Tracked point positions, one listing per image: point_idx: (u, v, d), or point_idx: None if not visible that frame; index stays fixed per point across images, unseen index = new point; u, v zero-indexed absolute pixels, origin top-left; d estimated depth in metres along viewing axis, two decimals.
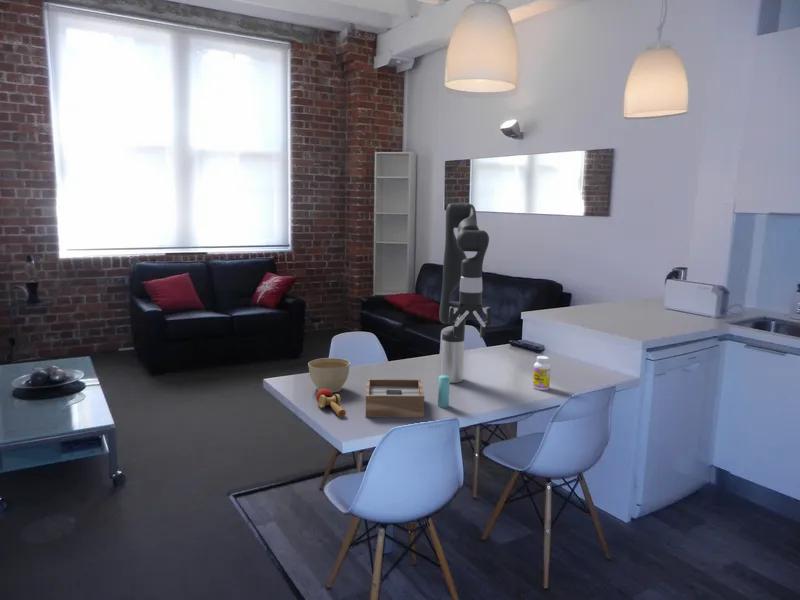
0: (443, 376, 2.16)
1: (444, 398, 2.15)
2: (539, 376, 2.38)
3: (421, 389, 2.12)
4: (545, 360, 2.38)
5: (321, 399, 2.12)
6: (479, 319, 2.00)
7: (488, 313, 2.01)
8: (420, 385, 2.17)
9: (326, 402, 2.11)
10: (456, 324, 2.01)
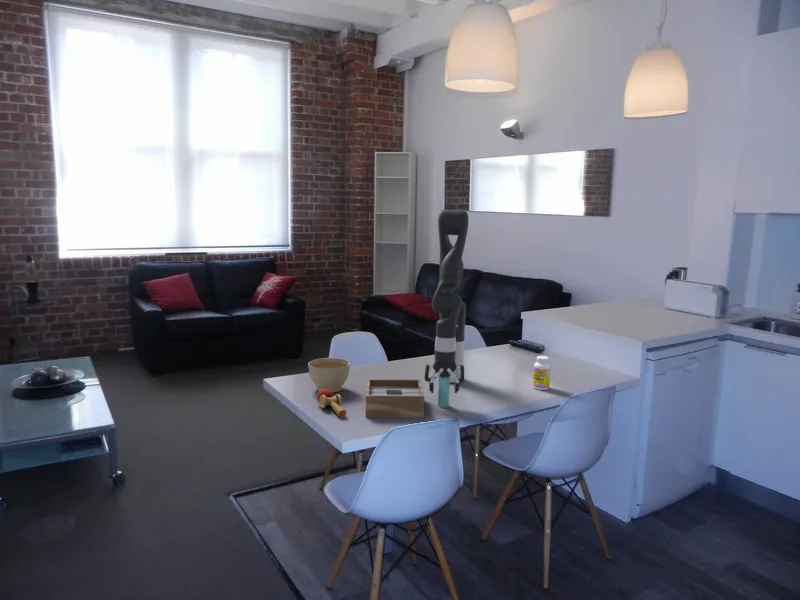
0: None
1: (444, 398, 2.15)
2: (539, 376, 2.38)
3: (421, 389, 2.12)
4: (545, 360, 2.38)
5: (322, 399, 2.12)
6: (453, 376, 2.14)
7: (461, 370, 2.15)
8: (420, 385, 2.17)
9: (327, 402, 2.10)
10: (431, 380, 2.15)
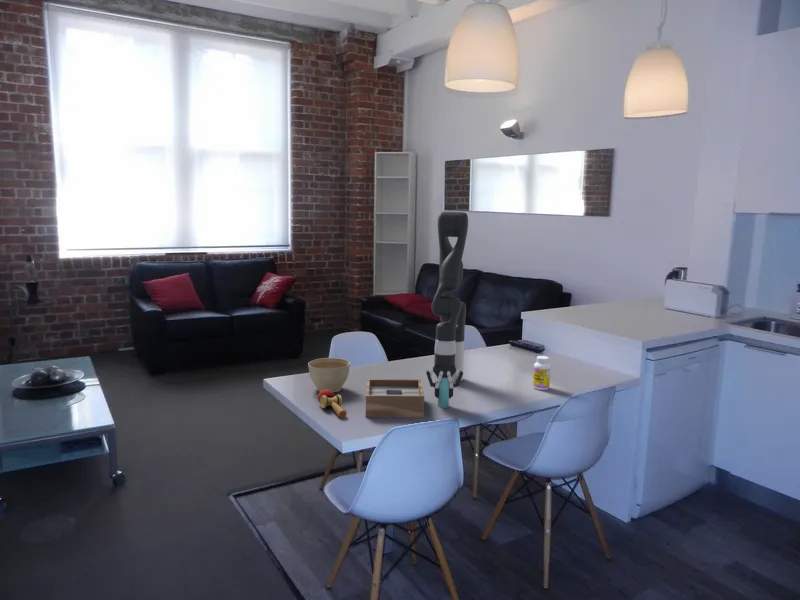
0: None
1: (444, 398, 2.15)
2: (539, 376, 2.38)
3: (421, 389, 2.12)
4: (545, 360, 2.38)
5: (322, 399, 2.12)
6: (450, 380, 2.15)
7: (459, 376, 2.15)
8: (420, 385, 2.17)
9: (327, 403, 2.10)
10: (437, 386, 2.15)
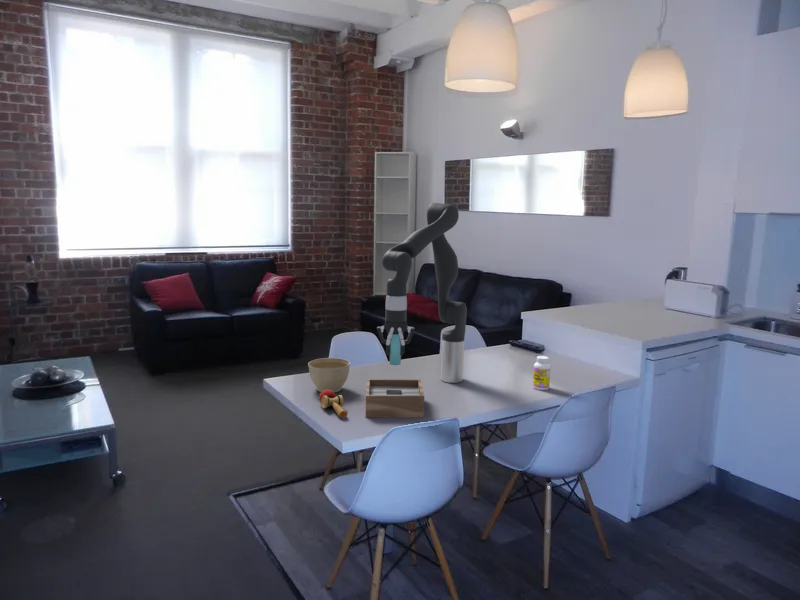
0: None
1: (395, 355, 2.12)
2: (539, 376, 2.38)
3: (421, 389, 2.12)
4: (545, 360, 2.38)
5: (324, 400, 2.12)
6: (401, 337, 2.12)
7: (411, 332, 2.12)
8: (420, 385, 2.17)
9: (328, 403, 2.10)
10: (388, 343, 2.12)
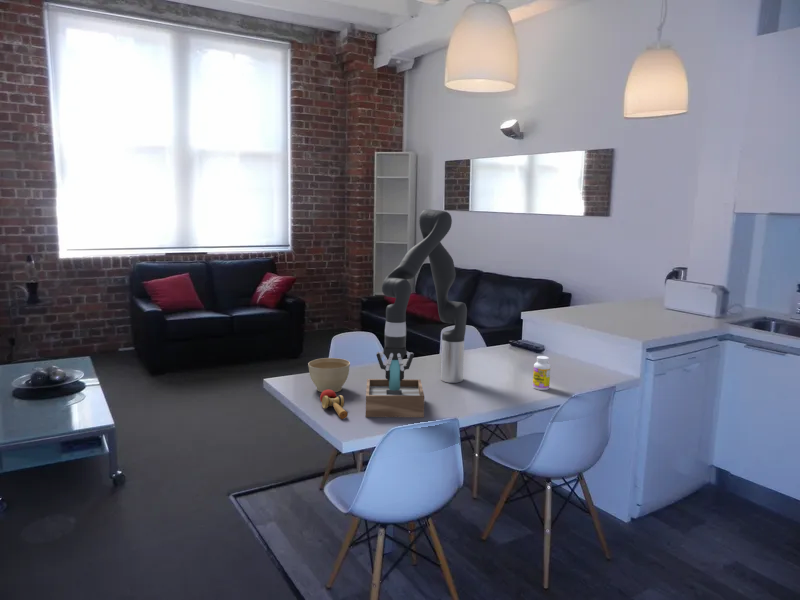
0: None
1: (394, 381, 2.14)
2: (539, 376, 2.38)
3: (421, 389, 2.12)
4: (545, 360, 2.38)
5: (324, 400, 2.11)
6: (400, 362, 2.13)
7: (410, 358, 2.13)
8: (420, 385, 2.17)
9: (329, 403, 2.09)
10: (387, 368, 2.14)
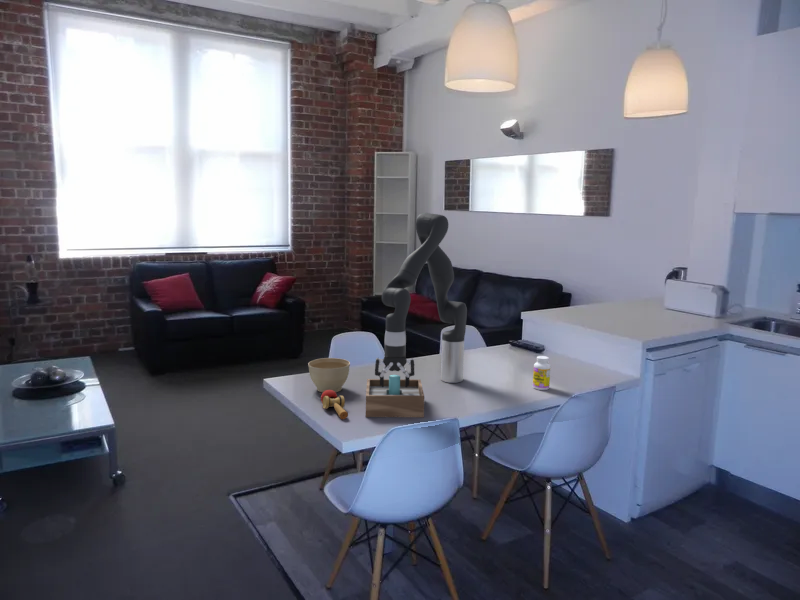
0: (393, 376, 2.16)
1: None
2: (539, 376, 2.38)
3: (421, 389, 2.12)
4: (545, 360, 2.38)
5: (325, 400, 2.11)
6: (403, 370, 2.14)
7: (411, 364, 2.14)
8: (420, 385, 2.17)
9: (329, 403, 2.09)
10: (381, 375, 2.14)
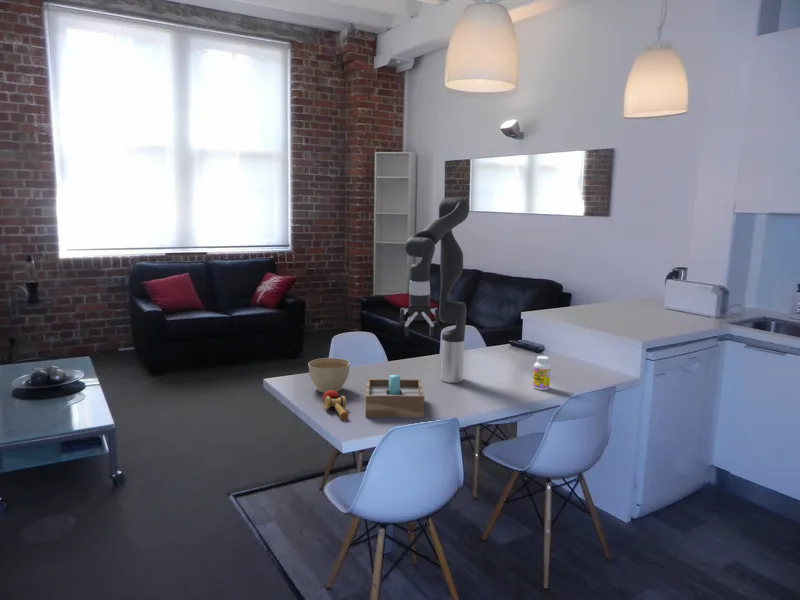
0: (393, 376, 2.16)
1: None
2: (539, 376, 2.38)
3: (421, 389, 2.12)
4: (545, 360, 2.38)
5: (326, 400, 2.11)
6: (427, 319, 2.17)
7: (436, 314, 2.17)
8: (420, 385, 2.17)
9: (331, 404, 2.09)
10: (406, 324, 2.17)
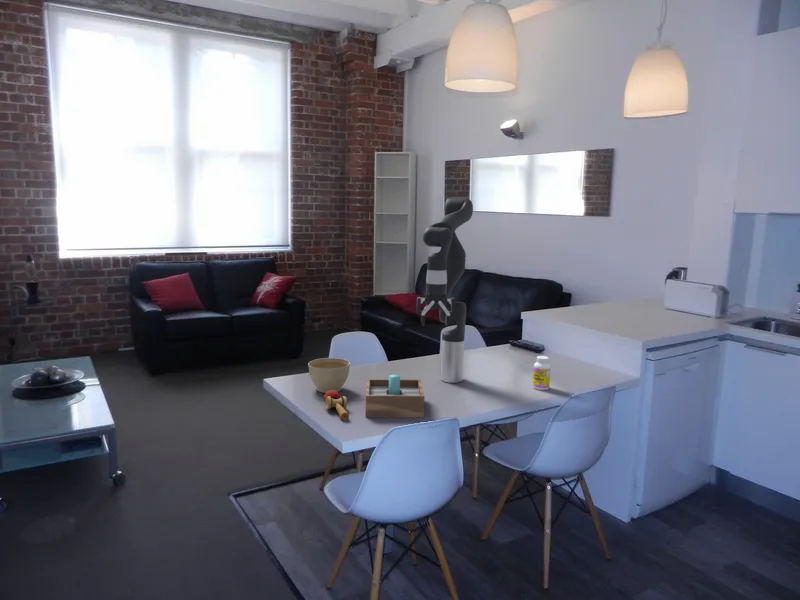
0: (393, 376, 2.16)
1: None
2: (539, 376, 2.38)
3: (421, 389, 2.12)
4: (545, 360, 2.38)
5: (327, 401, 2.11)
6: (444, 308, 2.20)
7: (452, 303, 2.20)
8: (420, 385, 2.17)
9: (332, 404, 2.09)
10: (423, 313, 2.20)
